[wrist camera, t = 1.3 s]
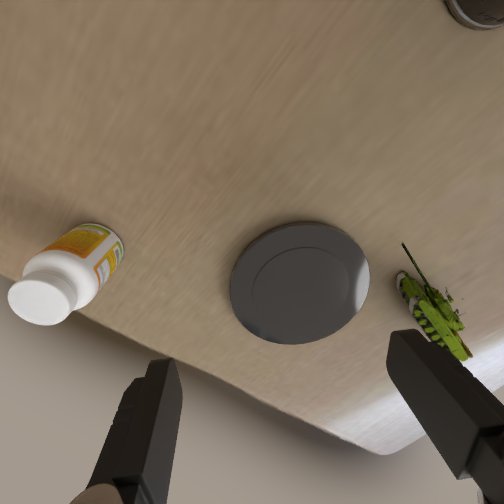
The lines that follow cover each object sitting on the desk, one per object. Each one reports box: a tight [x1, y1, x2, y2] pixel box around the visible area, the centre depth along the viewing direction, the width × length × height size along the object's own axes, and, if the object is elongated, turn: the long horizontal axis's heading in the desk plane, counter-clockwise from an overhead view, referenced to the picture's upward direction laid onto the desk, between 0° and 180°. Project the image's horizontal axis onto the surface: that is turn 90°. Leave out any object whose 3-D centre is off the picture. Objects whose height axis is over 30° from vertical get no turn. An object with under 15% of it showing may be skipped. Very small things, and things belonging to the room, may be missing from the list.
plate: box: [230, 222, 370, 345], centre depth 31 cm, size 16×16×1 cm
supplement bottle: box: [8, 223, 123, 325], centre depth 24 cm, size 5×5×10 cm
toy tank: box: [396, 243, 473, 361], centre depth 31 cm, size 7×19×10 cm
